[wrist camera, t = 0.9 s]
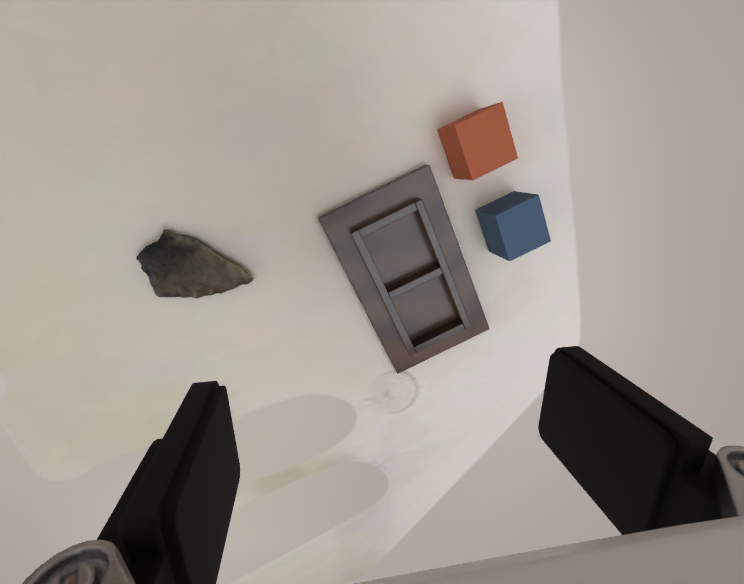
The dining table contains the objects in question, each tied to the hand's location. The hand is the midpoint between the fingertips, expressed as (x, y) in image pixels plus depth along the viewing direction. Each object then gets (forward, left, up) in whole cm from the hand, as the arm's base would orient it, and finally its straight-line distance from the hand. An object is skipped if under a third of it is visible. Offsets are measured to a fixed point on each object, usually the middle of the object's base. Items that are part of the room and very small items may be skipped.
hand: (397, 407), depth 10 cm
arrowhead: (-3, -13, -29) cm, 32 cm away
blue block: (+7, +17, -29) cm, 34 cm away
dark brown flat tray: (+8, +5, -29) cm, 30 cm away
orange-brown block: (-2, +16, -29) cm, 33 cm away
